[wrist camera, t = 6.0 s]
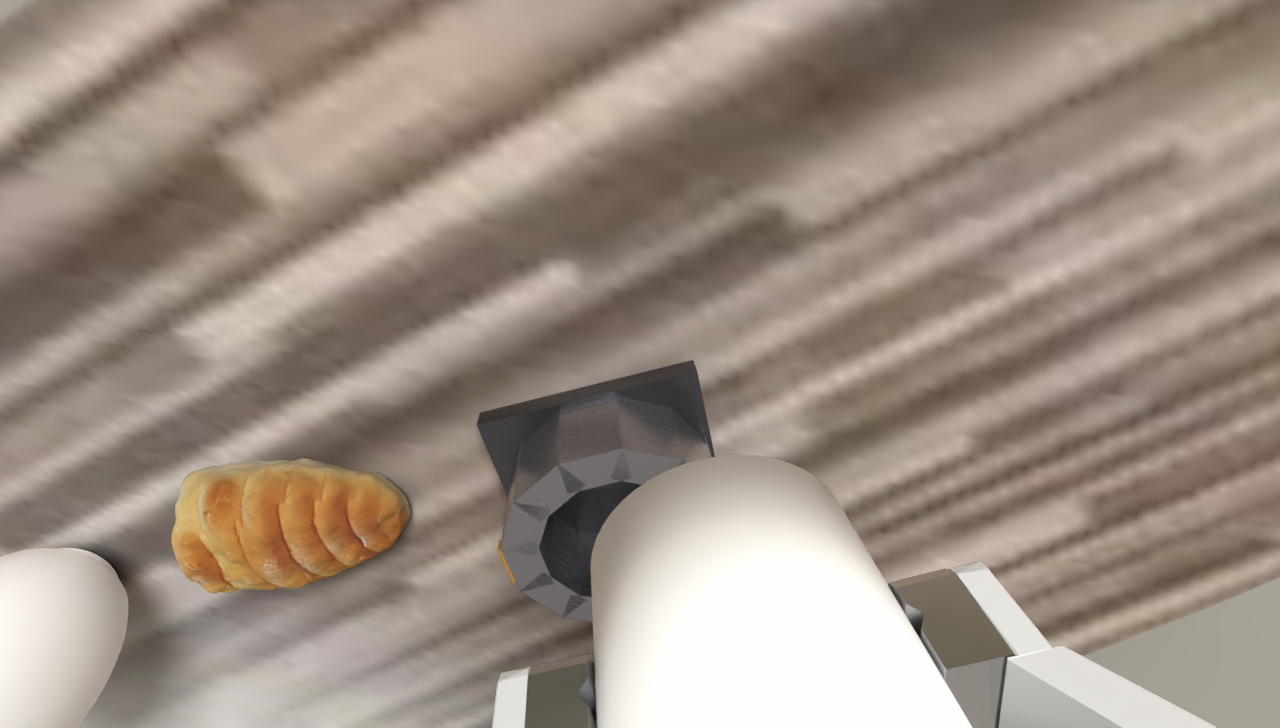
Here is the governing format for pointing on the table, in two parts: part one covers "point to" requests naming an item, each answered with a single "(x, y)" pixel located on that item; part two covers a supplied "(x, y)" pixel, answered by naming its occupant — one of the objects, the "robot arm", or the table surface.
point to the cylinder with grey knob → (751, 610)
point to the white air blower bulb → (57, 635)
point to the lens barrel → (585, 471)
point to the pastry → (282, 523)
